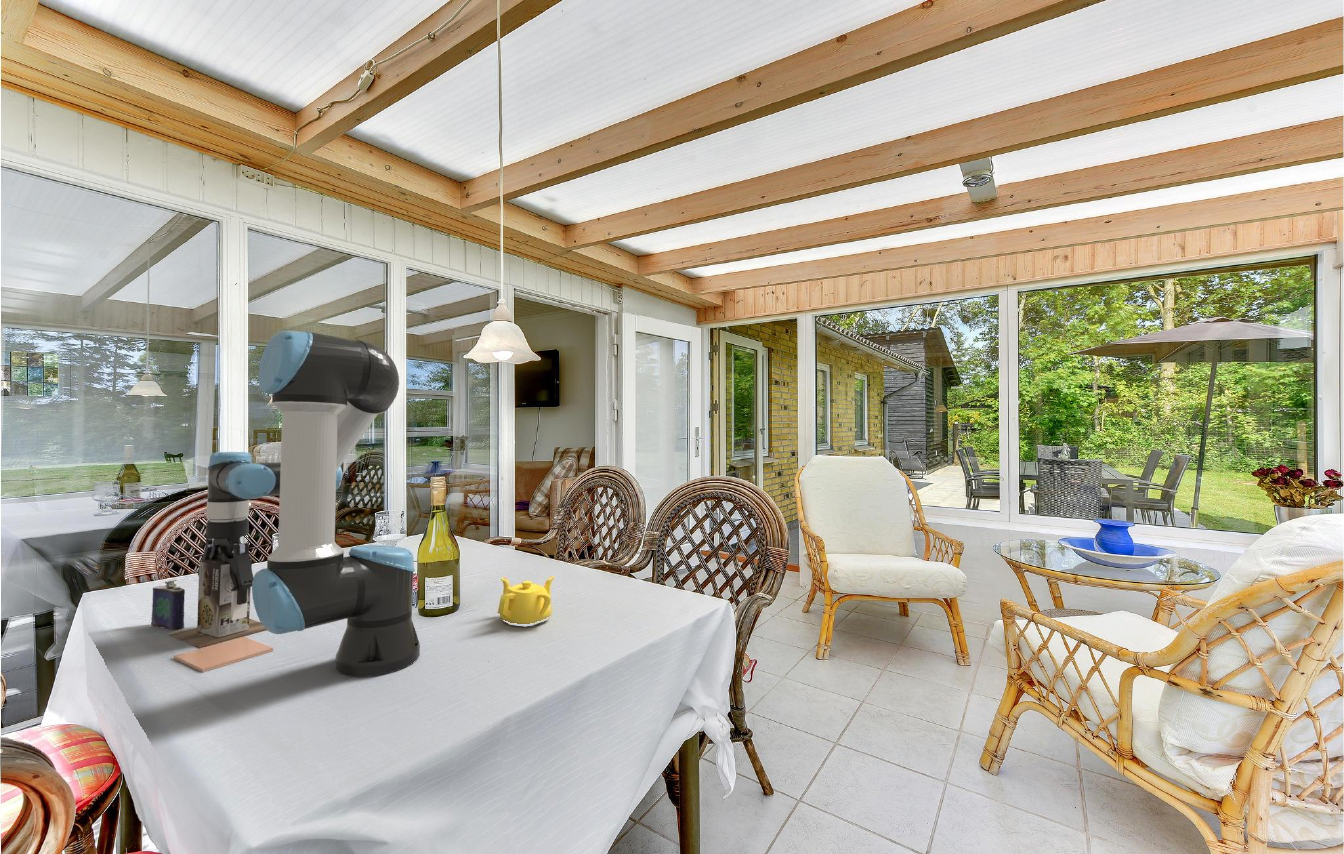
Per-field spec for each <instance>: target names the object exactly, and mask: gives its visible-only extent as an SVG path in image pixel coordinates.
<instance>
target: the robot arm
mask: <svg viewBox="0 0 1344 854" xmlns="http://www.w3.org/2000/svg"><path fill="white" fill-rule="evenodd" d="M257 380H258V382H259V384H258V385H259V388H260V389H261V391H262V392H264V393H265V394H268V395H271V405H272V406H273V407H274V408H275V409H277V411H279V413H280V414H281V437H280V439H281V443H280V446H281V447H280V462H252V455H251V453H249V452H247V451H245V452H244V451H221V452H220V451H217V452H213V453H211V454H210V456H209V462H208V466H207V470H208V478H207V480H208V481H207V501H206V512H205V513H206V516H205V519H206V520H208V521H207V522H206V525H205V537H206V539H205V548H204V550H203V554H202V558H201V561H203V560H214V559H218V560H222V561H223V563H224V564H230V572H229V573H230V576H231V579H232V582H233V585H234V587H233V588H232V589H231V591H232V602H231V620H236V619H240V618H244V617H247V599H248V588H250V587H251V593H252V600H253V601H252V602H253V606H254V609H255V612H256V616H257V617H258V620H259V622H261V623H262V625H263V626H264V628H265V629H266V630H265V631H268V633H271V634H275V635H282V634H283V635H284V634H287V633H293V632H303V631H304V630H307V629H312V628H314V627H318V626H322V625H327V624H331V623H335V622H339V621H341V620H343V621H344V620H346V619H347V620H346V628H345V632H344V633H343V637H341V638H342V639H341V641H340V644H339V647H338V650H337V652H336V654H335V659H334V668H335V671H336V672H337V673H339V674H341V675H344V676H348V677H373V676H378V675H379V676H380V675H384V674H388V673H389V674H390V673H392V672H396V671H399V670H403V669H404V667H405V668H406V667H408V665H409V666H411V665H412V664H414V663H415V662H416V661H417V660H418V659H419V658H418V657H420V651H421V649H420V648H421V645H420V644H421V643H420V640H419V637H418V635H417V634H418V633H417V631H416V627H415V624H414V622H413V619H412V618H413V596H414V595H413V593H414V591H413V590H414V572H415V562H414V554H413V552H412V551H411V550H410V549H407V548H405V547H401V546H396V545H395V546H393V545H383V544H382V545H381V544H367V545H366V544H363V545H356V546H352V547H351V548H350V550H349V551H348V556H344V554H345V553H344V552H345V551H344V549H343V548H342V547H341V546H340V545H338V543H337V542H336V541H335V540H336V538H335V536H336V535H335V534H336V497H337V496H336V493H337V490H338V489H339V488H340V486H341V484H342V480H343V469H342V467H341V466H342V464H343V463H344V461H345V460H346V459H347V457H348V456H349V455H350V453H351V452H352V451H353V449H354V448H355V447H356V446H357V444H358V442H359V441H360V440H361V438H362V437H363V435H364V434H365V433H366V431H367V430H368V429H369V427H370V426H371V424H372V423H373V422H374V420H375V419H376V418H377V416H378V415H380V414H383V413H385V412H387V411H388V409H389V408H390V407H391V405H392V404H393V403H394V401H395V399H396V397H397V396H398V393H399V389H400V388H399V386H400V376H399V372H398V369H397V366H396V363H395V362H394V360H393V359H392V358H391V356H390V355H389V354H388V353H387V352H386V351H385V350H384V349H383V348H381V347H379V346H378V345H377V344H373V343H372V342H369V341H365V340H357V339H355V340H354V339H351V338H346V337H345V338H344V337H340V336H339V337H338V336H333V335H327V334H322V333H315V332H310V331H299V330H289V329H288V330H281V331H279V332H277V333H275V334H274V335H273V336H272V337H271V338H270V339H269V341H268V343H267V344H266V346H265V347H264V349H263V352H262V355H261V359H260V362H259V368H258V379H257ZM272 496H273V497H274V496H279V505H278V506H279V507H278V508H279V509H278V511H279V512H278V514H279V515H278V545H277V547H276V548H275V550H273V551H272V552H271V553H270V554H269V555H268V556H267V559H266V561H267V562H266V563H267V564H266V568H262V569H261V570H258V571H256V572H255V574H253V569H252V567H251V562H250V559H251V558H250V546H249V545H250V544H249V543H248V542H245V543H241V538H242V537H245V536H247V535H248V534H249V528H250V527H249V525H250V524H249V523H250V522H249V521H250V520H249V519H248V517H249V515H250V507H251V506H252V503H250V500H251V499H252V500H255V499H260V498H263V497H272ZM197 576H198V577H199V570H198V572H197ZM414 661H415V662H414ZM413 662H414V663H413ZM411 663H412V664H411ZM410 664H411V665H410Z"/></svg>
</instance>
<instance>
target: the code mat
mask: <svg viewBox="0 0 1344 854" xmlns="http://www.w3.org/2000/svg"><path fill="white" fill-rule="evenodd" d="M265 631H267V630H266V629H265V628H264V626H263V625H262V623H261V622H260V621H257V620H254V619H252V618H249V629H248V630H246V631H242V632H238V633H234V634H230V635H227V636H223V637H219V638H218V637H214V636H211V635H208V634H205V633H201V632H198V631H197V627H194V628H191V629H189V628H188V629H186V630H182V631H178V632H174V633H170V634H169V636H171V637H172V636H173V637H172V638H175V639H177V638H178V640H179V641H182V640H183V641H182V642H184V641H185V642H184V643H186V642H187V644H189V645H191V644H192V645H191V646H193V645H194V646H193V647H196V646H197V647H196V648H197V649H200V648H204V647H205V646H206V647H207V646H211V645H215V644H219V642H221V643H222V642H226V641H230V640H233V639H237V638H241V637H247V636H250V635H253V634H258V633H261V632H265Z"/></svg>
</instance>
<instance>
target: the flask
mask: <svg viewBox="0 0 1344 854" xmlns="http://www.w3.org/2000/svg"><path fill="white" fill-rule="evenodd" d="M175 582H177V579H173V580H171V579H170V580H168V581H164V584H165V585H157V586H154V587H152V605H151V606H152V607H151V623H150V625H151V626H152V627H157V628H159V627H164V628H163V629H165V630H170V631H178V630H179V629H180V630H183V629H184V628H185V593H186V592H185V591H186V590H185V589H184V588H182V587H181V586H178V585H177V583H175Z"/></svg>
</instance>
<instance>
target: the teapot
mask: <svg viewBox="0 0 1344 854" xmlns="http://www.w3.org/2000/svg"><path fill="white" fill-rule="evenodd" d="M500 579H501V581H502V583H503V591H502V595H501V596H500V598H499V599H500V600H499V605H498V609H497V610H498V611H497V614H498V615H499V616H500V619H501V618H502V619H503V620H505V621H508V622H510V623H517V624H530V623H535V622H537V621H541V620H543V619H546V618H547V617H549V616H550V617H551V615H552V604H551V603H552V602H551V600H552V597H551V585H552V582H553V580H554V579H555V575H553V576H550V577H548V578H547V579H546V581H545V583H544V585H539V584H536V583H533V581H530V580H524V581H522V582H521V583H519V584H515V585H513V586H511V585H510V582H509V580H508V579H507V578H505V577H500ZM550 617H549V618H550ZM502 619H501V620H502ZM503 620H502V621H503Z"/></svg>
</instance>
